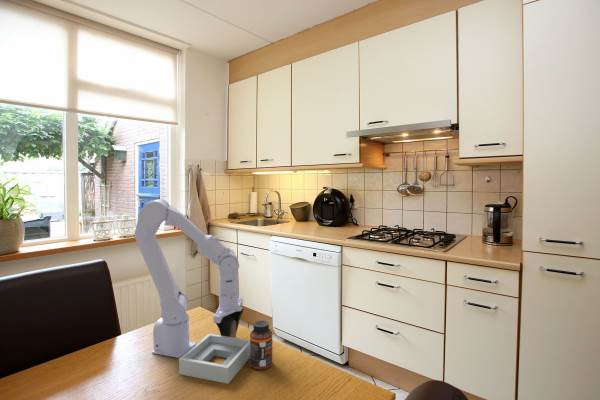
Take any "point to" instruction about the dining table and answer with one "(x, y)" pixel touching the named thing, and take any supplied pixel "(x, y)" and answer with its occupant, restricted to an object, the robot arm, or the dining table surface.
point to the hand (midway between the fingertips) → (229, 336)
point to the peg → (233, 329)
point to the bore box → (219, 346)
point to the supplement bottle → (261, 346)
